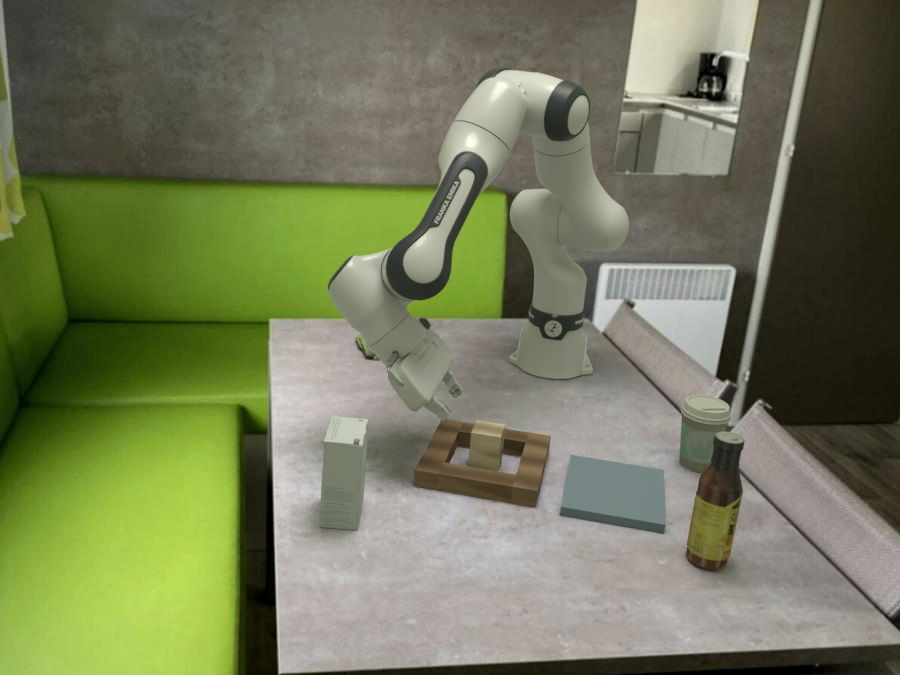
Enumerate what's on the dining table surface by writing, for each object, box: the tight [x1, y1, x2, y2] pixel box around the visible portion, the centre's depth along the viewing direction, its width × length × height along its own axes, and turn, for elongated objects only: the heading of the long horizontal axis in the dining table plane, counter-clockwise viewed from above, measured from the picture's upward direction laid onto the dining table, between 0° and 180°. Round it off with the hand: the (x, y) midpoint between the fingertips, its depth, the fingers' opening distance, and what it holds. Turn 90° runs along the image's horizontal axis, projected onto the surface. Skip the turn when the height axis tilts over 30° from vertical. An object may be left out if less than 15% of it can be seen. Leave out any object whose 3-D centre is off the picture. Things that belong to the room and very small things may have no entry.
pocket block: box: [413, 418, 552, 508], centre depth 148 cm, size 20×20×3 cm
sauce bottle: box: [685, 430, 745, 571], centre depth 125 cm, size 6×6×20 cm
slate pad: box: [559, 454, 666, 534], centre depth 143 cm, size 18×16×2 cm
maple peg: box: [467, 419, 506, 472], centre depth 148 cm, size 5×5×8 cm
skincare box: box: [319, 415, 370, 531], centre depth 129 cm, size 8×6×15 cm
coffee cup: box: [678, 394, 732, 473], centre depth 154 cm, size 9×9×12 cm
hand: (453, 405), depth 146 cm, fingers open, 8 cm apart
